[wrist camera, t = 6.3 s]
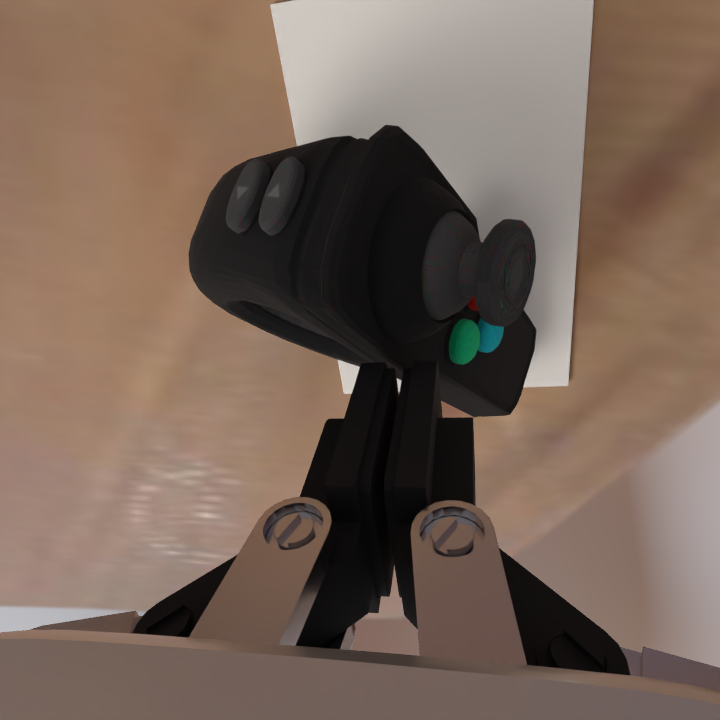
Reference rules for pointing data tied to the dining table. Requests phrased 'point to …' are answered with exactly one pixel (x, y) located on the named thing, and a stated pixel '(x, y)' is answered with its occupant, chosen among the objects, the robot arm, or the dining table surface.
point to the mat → (462, 117)
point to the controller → (372, 264)
